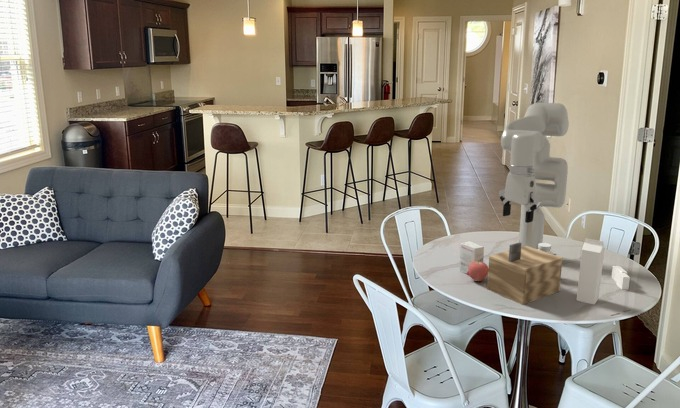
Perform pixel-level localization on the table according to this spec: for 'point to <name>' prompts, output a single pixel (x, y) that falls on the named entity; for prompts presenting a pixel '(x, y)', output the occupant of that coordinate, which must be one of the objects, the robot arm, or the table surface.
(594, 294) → the milk
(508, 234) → the table surface
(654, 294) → the table surface
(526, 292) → the wooden box
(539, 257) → the lid
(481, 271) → the apple
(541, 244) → the supplement bottle
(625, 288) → the white stepped block
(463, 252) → the ink box
